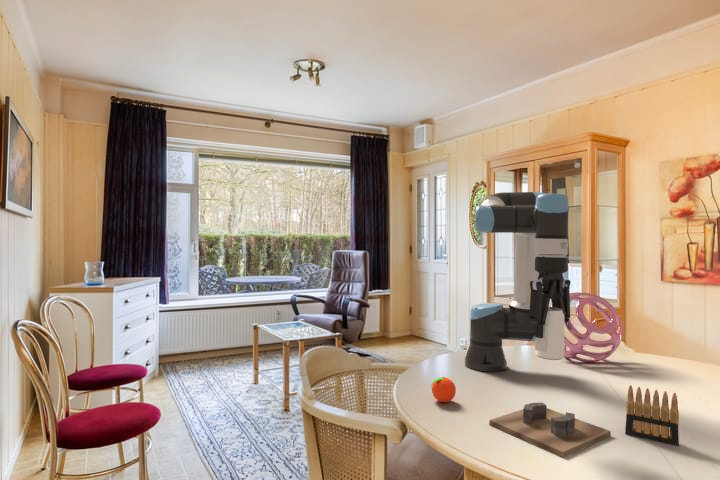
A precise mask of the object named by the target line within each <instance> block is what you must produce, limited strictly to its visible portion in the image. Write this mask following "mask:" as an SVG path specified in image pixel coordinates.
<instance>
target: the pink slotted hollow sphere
mask: <svg viewBox="0 0 720 480" xmlns="http://www.w3.org/2000/svg"><path fill="white" fill-rule="evenodd" d="M581 296H585V297H581ZM572 301H576V302H577V304H576V306H575V315H576V317H577V320H578V321H579V323H580V324H581V325H582V326H583V327H584V328H585V329H586V331H585V332H584V333H581V332H580V331H579V330H578V329H577V328H576V327H575V326H574V325H573V323H572V321H571V318H569V322H564V327H565V328H566V329H567V331H569V333H570V334H571V335H572V336H573V337H574V338H575V339H576V340H577V343H573V342H571V340H569V339H568V337H566V336H565V335H564V357H563V358H566V359H571V360H572V359H573V360H576V361H578V362H583V363H596V362H597V363H598V362H601V361H604V360H606V359H607V358H609V357H610V356H612V355H613V354H614V353H615V351H617V349H618V348H619V346H620V345H621V342H622V338H623V323H622V319H621V317H620V315H619V313H618V311H617V309H616V308H615V307H614V306H613V305H612V303H610V302H609V301H608V300H607V299H605V298H604V297H601V296H600V295H597V294H595V293H590V292H578V291H577V292H570V303H571V302H572ZM597 303H598V304H597ZM586 304H587V305H588V306H590V307H592V308H594V309H595V310H596V311H597V312H599V314H601V316H602V317H603V320H604V322H605V326H597V325H596V323H597V318H595V319H594V320H593V321H592V322H590V321H589V320H588V319H587V318H586V316H585V314H584V308H585V305H586ZM599 304H601V305H602V306H603V307H605V308H606V309H607V310H608V312H609V313H610V314H608V313H607V311H606V310H605V309H604V308H603V307H601V305H599ZM549 307H553V306H552V304H551V305H549ZM565 313H566V312H565ZM567 319H568V318H567ZM616 327H618V329H617V328H616ZM593 333H595V334H600V335H606V334H608V333H609V334H610V336H611V337H610V339H608V340H601V341H600V340H596V339H595V340H594V339H592V338H591V334H593ZM584 346H591V347H595V348H606V347H610V346H611V347H610V349H609V350H607V351H603V352H601V351H600V352H594V351H593V352H592V351H589V350H585V349H584ZM567 348H569V350H567ZM578 355H582V356H585V357H590V358H593V359H587V358H582V357H580V356H578Z"/></svg>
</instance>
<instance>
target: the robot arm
mask: <svg viewBox="0 0 720 480" xmlns="http://www.w3.org/2000/svg"><path fill="white" fill-rule="evenodd" d="M569 210H570V206H569V196H568V195H567V194H565V193H545V192H541V191H516V192H515V191H513V192H502V191H501V192H497V193H493V194H490V195H488V196H484V198H482V199H481V200H480V201H479V202H478V204H477V206H476V207H475V212H474V213H475V214H474V215H475V216H474V219H475V221H474V230H475V231H476V232H478V233H485V234H493V233H496V234H497V233H499V234H500V233H506V234H507V233H508V234H509V233H511V234H512V233H514V234H515V237H514V238H515V239H514V242H515V243H514V244H515V245H514V273H513V274H514V276H513V277H514V279H513V282H514V283H513V299H512V300H511V301H509V303H508V307H504V305H503V303H501V302H487V303H479V304H475V305H473V306H472V307H471V309H470V315H469V320H470V321H469V322H470V324H469V325H470V329H469V344H468V345H469V346H468V348H467V352H466V355H465V358H464V366H465V367H467V368H469V369H472V370H475V371H480V372H488V373H489V372H490V373H493V372H494V373H495V372H503V371H505V370H507V368H508V366H507V365H508V361H507V359H506V356H505V352H504V349H503V340H506V341H507V340H508V341H523V342H529V343H530V342H534V343H535V344H534V348H535V349H534V350H535V351H536V350H537V351H542V352H547V325H545V321H546V316H547V312H548V307H550V301H551V305H552V306H553V307H555V308H561V309H563V310H562V312H563V314H564V322H569V319H571V302H570V293H571V292H570V291H571V290H570V288H571V280H570V279H564V274H566V273H567V272H568V266H569V265H568V263H569V261H568V260H569V259H568V258H567V257H566V256H567V255H568V253H569V252H568V251H569V250H568V247H569V242H568V240H569V212H570V211H569ZM565 312H566V313H565ZM567 318H568V319H567Z"/></svg>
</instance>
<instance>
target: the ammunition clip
mask: <svg viewBox="0 0 720 480" xmlns="http://www.w3.org/2000/svg"><path fill="white" fill-rule="evenodd" d="M626 397H627V398H626V406H625V407H626V408H625V410H626V411H625V412H626V413H625V428H624V429H625V433H624V434H625V435H626V436H631V437H634V438H639V439H643V440H648V441H652V442H657V443H660V444H661V443H662V444H666V445H670V446H676V447H679V446H680V438H679V430H680V429H679V425H680V424H679V418H680V415H679V412H680V411H679V405H678V404H679V402H678V401H679V400H678V396H677V394H676V392H673V394H672V396H671V404H670V408H669V394H668V393H667V391H666V390H665V391H664V392H663V395H662V399H661V406H660V395H659V391H658V389H655V390H654V392H653V397H652V398H653V399H652V401H651V392H650V389H649V388H648V387H646V390H645V392H644V400H643V398H642V397H643V395H642V390H641V387H640V386H638V387H637V389H636V393H635V397H634V390H633V387H632V385H631V384H630V385H629V386H628V389H627V396H626ZM634 398H635V399H634ZM634 400H635V401H634ZM651 402H652V403H651Z"/></svg>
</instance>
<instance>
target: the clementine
mask: <svg viewBox="0 0 720 480" xmlns="http://www.w3.org/2000/svg"><path fill="white" fill-rule="evenodd" d="M430 387H431V393H432V396H433V398H434V399H435V400H437V401H438V402H440V403H449V402H451V401H452V400H453V399H454V398H455V396H456V393H457V389H456V385H455V383H454V382H453V380H451V379H450V378H449V377H444V376H442V377H438V378H436V379H434V380H433V381H432V383H431V385H430Z"/></svg>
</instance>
